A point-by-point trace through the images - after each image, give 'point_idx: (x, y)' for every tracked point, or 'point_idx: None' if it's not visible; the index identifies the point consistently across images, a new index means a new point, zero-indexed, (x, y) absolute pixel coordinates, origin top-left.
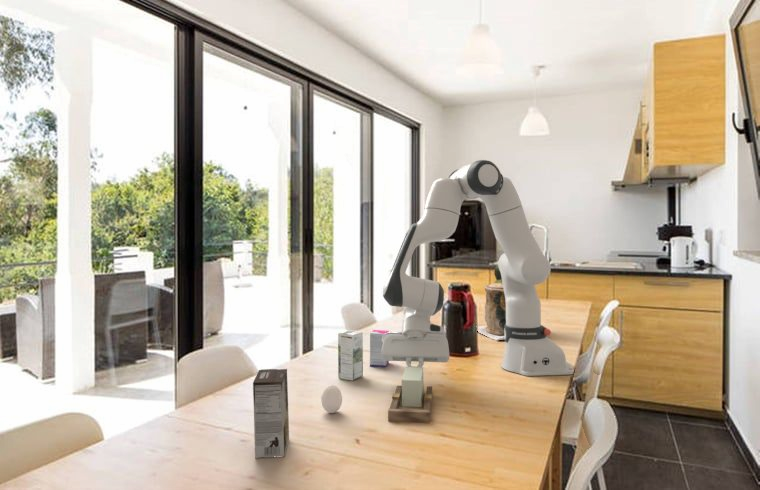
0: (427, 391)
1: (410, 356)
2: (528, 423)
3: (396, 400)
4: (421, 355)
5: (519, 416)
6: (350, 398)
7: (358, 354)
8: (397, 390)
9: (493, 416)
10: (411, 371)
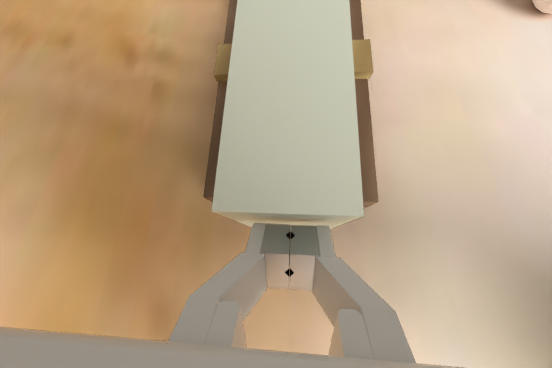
0: None
1: (351, 358)
2: (9, 13)
3: None
4: (173, 352)
5: (7, 45)
6: (547, 126)
7: None
8: (362, 133)
9: (70, 38)
10: (303, 100)
